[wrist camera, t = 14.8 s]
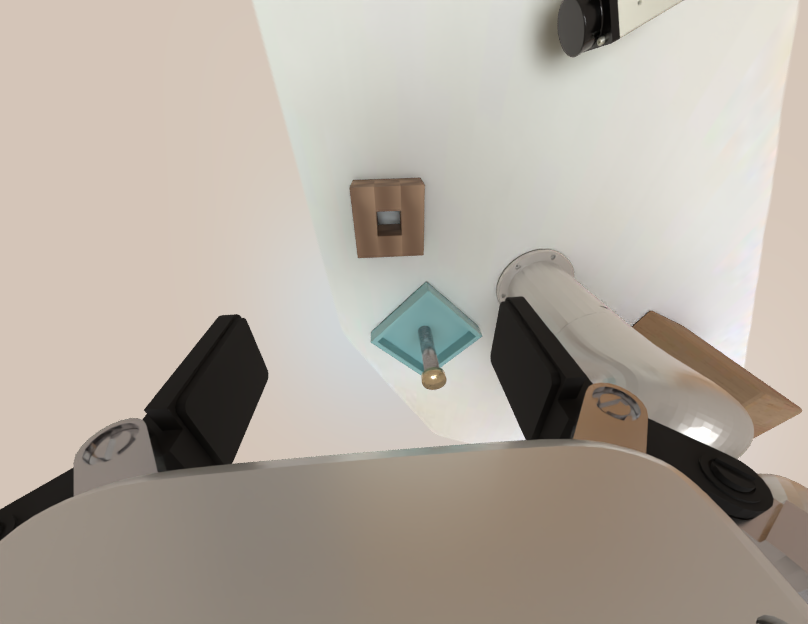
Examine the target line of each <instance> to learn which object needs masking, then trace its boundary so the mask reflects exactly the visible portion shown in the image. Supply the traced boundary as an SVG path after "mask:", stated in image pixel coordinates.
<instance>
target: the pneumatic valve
mask: <svg viewBox="0 0 808 624" xmlns="http://www.w3.org/2000/svg"><path fill="white" fill-rule="evenodd" d="M682 1H683V0H563V2H562V4H561V6H560V9H559V14H558V35H559V40H560V43H561V46H562V48H563V50H564V52H565V53H566V54H567V55H568V56H570V57H576V56H578V55H579V54H581V53H583V52H586V51H589V50H592V49H595V48H598V47H601V46H604V45H608V44H611V43H613V42H615V41H616V40H618V39H620V38H621V37H623V36H625V35H626V34H628V33H630V32H631V31H633V30H635V29H636V28H638V27H640V26H641V25H643V24H645V23H646V22H648V21H650V20H651V19H653V18H655V17H657V16H658V15H660V14H662V13H663V12H665V11H667V10H668V9H670V8H672V7H673V6H675V5H677V4H678V3H680V2H682Z"/></svg>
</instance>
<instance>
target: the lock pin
mask: <svg viewBox="0 0 808 624" xmlns="http://www.w3.org/2000/svg"><path fill="white" fill-rule="evenodd" d="M418 335H419V341H420V347H421V353H422V360H423V366H424V371H423V373H422V375H421V378H422V384H423V386H424V387H425V388H427V389H430V390H436V389H439V388H441V387H443V386H444V385H445V383H446V376H445V372H444V371H443V370H442V369H441V368H439V363H438V359H437V354H436V350H435V346H434V341H433V337H432V332H431V329H430V327H428V326H422V327H420V328H419V329H418Z"/></svg>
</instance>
